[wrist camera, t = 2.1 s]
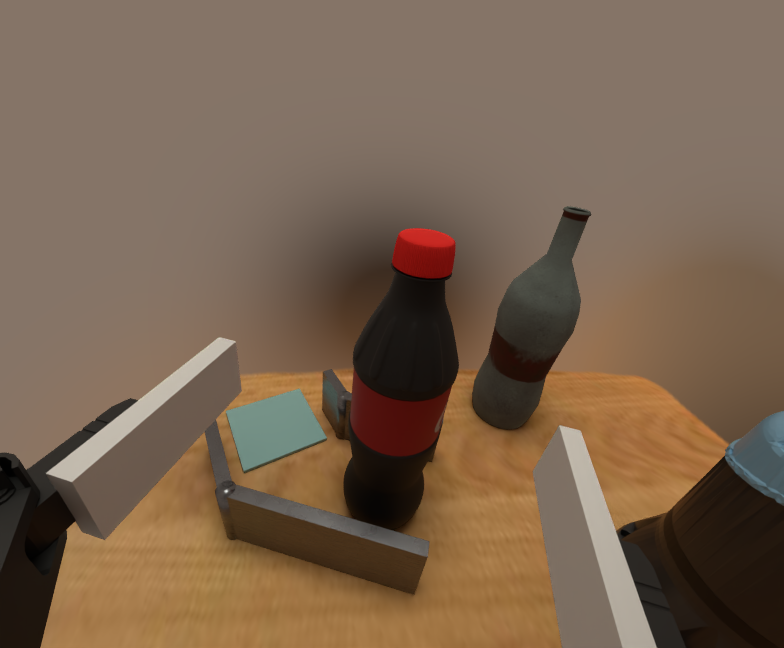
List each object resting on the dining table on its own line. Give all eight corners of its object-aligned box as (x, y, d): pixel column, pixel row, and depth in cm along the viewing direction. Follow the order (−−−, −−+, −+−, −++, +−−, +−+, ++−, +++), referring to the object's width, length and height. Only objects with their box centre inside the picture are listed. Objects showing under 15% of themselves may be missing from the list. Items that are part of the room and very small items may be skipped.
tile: (326, 439, 43) (326, 437, 43) (244, 473, 38) (243, 471, 38) (299, 390, 50) (299, 388, 50) (226, 413, 45) (225, 411, 45)
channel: (435, 433, 46) (445, 396, 42) (413, 597, 30) (427, 560, 26) (259, 389, 49) (255, 350, 46) (155, 515, 33) (135, 472, 30)
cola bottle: (427, 482, 40) (499, 231, 24) (404, 555, 33) (485, 270, 17) (362, 455, 42) (389, 208, 26) (327, 519, 35) (337, 235, 19)
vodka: (458, 410, 50) (522, 204, 35) (481, 380, 57) (543, 195, 41) (520, 444, 46) (624, 227, 31) (536, 407, 53) (629, 214, 37)
